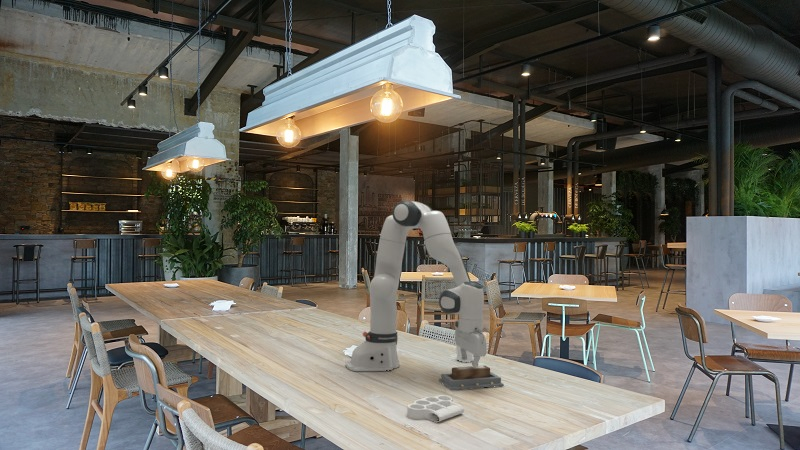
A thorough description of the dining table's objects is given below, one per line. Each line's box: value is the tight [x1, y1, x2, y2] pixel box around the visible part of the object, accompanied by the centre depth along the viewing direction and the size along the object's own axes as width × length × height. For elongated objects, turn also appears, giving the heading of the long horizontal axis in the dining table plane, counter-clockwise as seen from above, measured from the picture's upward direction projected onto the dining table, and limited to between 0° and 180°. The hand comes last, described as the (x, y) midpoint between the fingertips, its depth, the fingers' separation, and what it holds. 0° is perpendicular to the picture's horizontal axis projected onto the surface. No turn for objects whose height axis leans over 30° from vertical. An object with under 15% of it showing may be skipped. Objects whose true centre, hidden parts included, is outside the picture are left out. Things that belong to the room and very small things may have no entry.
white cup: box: [455, 344, 474, 363], centre depth 225 cm, size 8×8×10 cm
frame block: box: [451, 365, 491, 380], centre depth 190 cm, size 14×4×5 cm, turn 108°
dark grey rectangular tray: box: [438, 371, 505, 391], centre depth 190 cm, size 21×12×3 cm, turn 108°
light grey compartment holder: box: [406, 394, 465, 423], centre depth 158 cm, size 3×18×15 cm
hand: (469, 362), depth 190 cm, fingers open, 8 cm apart
